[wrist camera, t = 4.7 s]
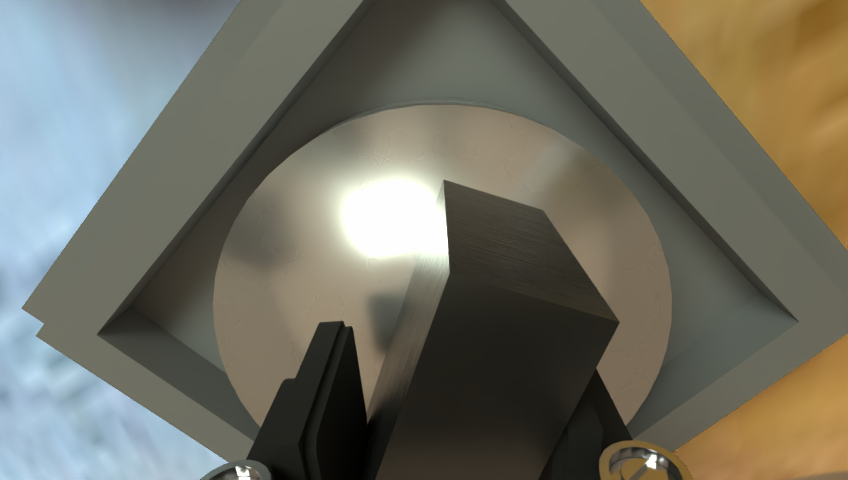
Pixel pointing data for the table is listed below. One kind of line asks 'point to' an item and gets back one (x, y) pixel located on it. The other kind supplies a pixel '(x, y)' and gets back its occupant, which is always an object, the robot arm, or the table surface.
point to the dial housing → (468, 79)
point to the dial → (448, 284)
